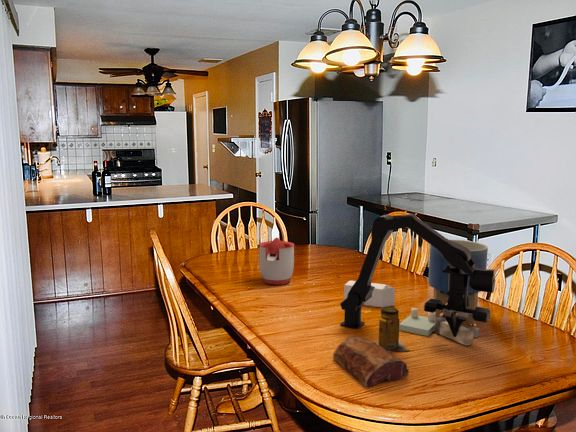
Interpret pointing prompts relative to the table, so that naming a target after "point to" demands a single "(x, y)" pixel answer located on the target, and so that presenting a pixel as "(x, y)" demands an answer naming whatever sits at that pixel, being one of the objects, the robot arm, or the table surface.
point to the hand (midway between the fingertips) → (455, 336)
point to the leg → (444, 329)
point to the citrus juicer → (276, 261)
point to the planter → (441, 279)
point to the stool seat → (418, 323)
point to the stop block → (476, 330)
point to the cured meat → (369, 362)
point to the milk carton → (376, 294)
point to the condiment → (390, 330)
